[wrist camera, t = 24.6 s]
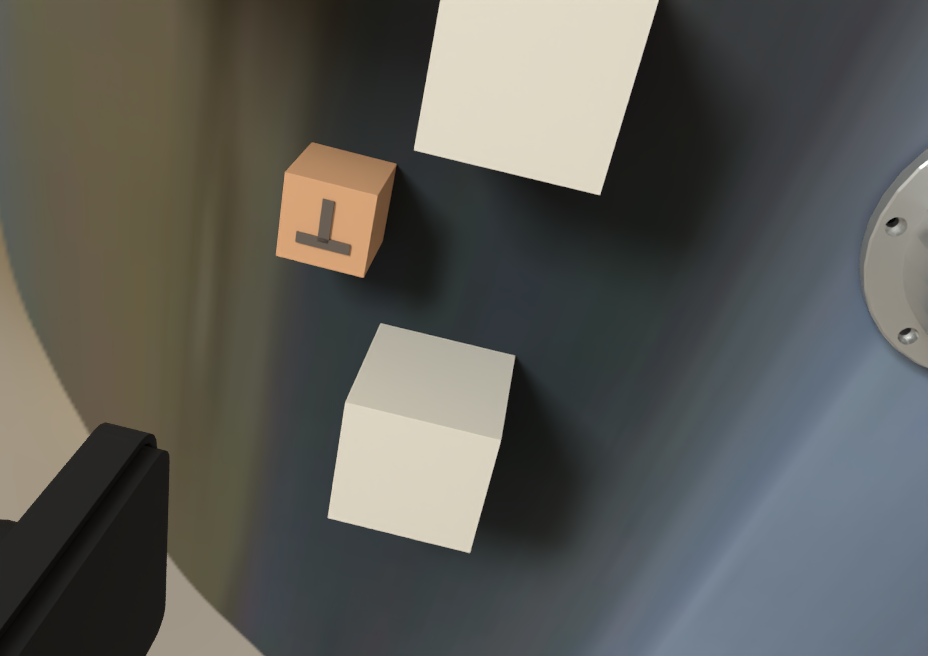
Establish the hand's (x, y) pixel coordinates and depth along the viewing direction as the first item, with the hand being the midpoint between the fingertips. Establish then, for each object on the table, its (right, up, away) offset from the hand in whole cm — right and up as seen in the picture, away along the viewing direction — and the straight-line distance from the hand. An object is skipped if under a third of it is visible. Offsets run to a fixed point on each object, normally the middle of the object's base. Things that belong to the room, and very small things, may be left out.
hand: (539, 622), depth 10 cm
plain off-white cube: (-2, 0, +36) cm, 36 cm away
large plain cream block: (+2, +16, +26) cm, 30 cm away
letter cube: (-6, +10, +31) cm, 33 cm away
